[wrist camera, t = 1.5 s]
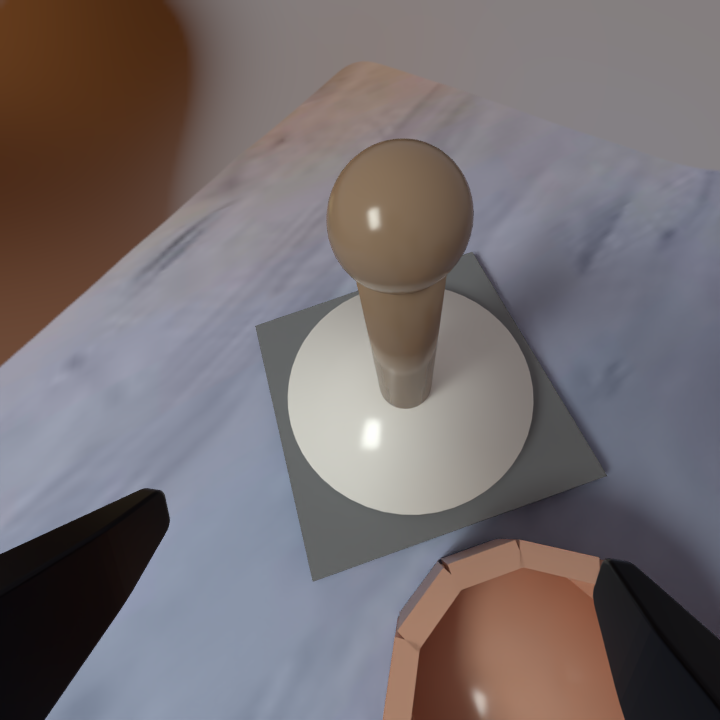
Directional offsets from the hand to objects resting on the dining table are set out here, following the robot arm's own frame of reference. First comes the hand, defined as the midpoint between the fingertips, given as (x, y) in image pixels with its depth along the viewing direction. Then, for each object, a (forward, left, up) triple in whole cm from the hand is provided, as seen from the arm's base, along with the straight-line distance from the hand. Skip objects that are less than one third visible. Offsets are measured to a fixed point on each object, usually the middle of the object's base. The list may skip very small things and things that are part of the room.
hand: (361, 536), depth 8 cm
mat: (+7, -3, -14) cm, 16 cm away
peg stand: (+7, -3, -13) cm, 15 cm away
